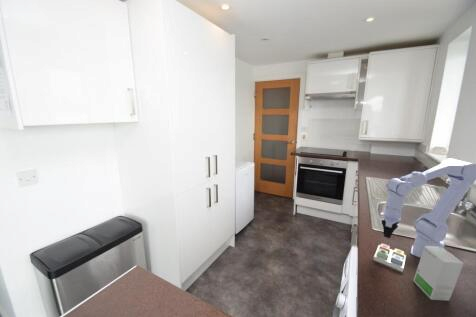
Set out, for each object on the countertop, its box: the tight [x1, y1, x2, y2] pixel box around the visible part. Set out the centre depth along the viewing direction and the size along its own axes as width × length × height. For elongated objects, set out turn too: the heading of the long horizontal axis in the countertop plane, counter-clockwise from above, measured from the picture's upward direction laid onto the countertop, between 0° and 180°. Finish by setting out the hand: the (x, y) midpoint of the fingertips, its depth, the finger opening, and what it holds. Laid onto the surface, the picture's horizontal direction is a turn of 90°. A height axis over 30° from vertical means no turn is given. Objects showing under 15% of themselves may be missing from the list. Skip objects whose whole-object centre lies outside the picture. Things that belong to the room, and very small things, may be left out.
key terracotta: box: [380, 242, 391, 252], centre depth 93 cm, size 3×3×2 cm
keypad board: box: [372, 244, 407, 274], centre depth 90 cm, size 10×11×2 cm
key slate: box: [392, 254, 403, 266], centre depth 86 cm, size 3×3×2 cm
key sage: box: [377, 248, 388, 260], centre depth 89 cm, size 3×3×2 cm
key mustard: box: [393, 248, 405, 257], centre depth 90 cm, size 3×3×2 cm
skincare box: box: [412, 246, 465, 302], centre depth 73 cm, size 8×7×16 cm
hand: (387, 235), depth 92 cm, fingers open, 3 cm apart
